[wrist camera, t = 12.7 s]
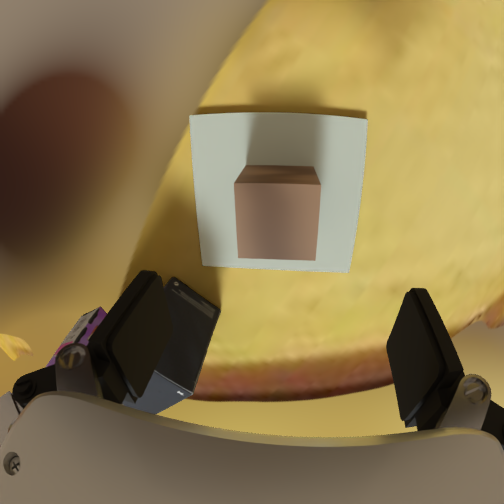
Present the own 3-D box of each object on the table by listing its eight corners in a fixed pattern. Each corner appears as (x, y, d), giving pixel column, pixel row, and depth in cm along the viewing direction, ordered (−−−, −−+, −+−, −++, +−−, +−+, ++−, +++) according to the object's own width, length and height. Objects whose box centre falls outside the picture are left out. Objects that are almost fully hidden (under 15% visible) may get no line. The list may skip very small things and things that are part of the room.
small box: (171, 271, 27) (124, 351, 18) (223, 309, 28) (198, 395, 19) (132, 323, 32) (95, 389, 23) (175, 351, 33) (148, 421, 24)
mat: (365, 119, 18) (367, 119, 17) (347, 269, 24) (349, 272, 24) (191, 115, 19) (189, 115, 19) (204, 262, 26) (202, 265, 25)
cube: (313, 166, 20) (321, 184, 15) (310, 228, 22) (315, 260, 18) (245, 165, 20) (233, 183, 16) (247, 226, 23) (237, 258, 19)
